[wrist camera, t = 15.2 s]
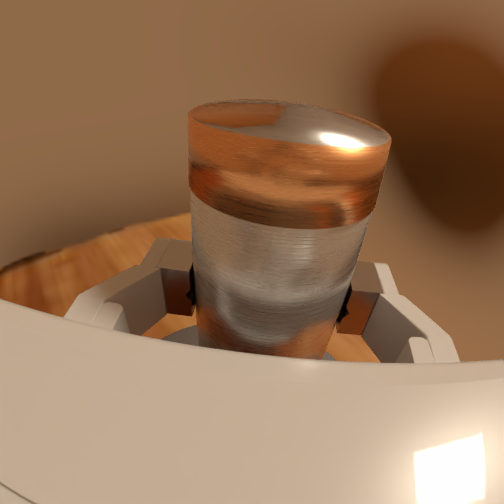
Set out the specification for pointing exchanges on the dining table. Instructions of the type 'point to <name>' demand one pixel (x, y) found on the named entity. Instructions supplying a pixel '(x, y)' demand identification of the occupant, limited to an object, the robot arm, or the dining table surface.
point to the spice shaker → (278, 220)
